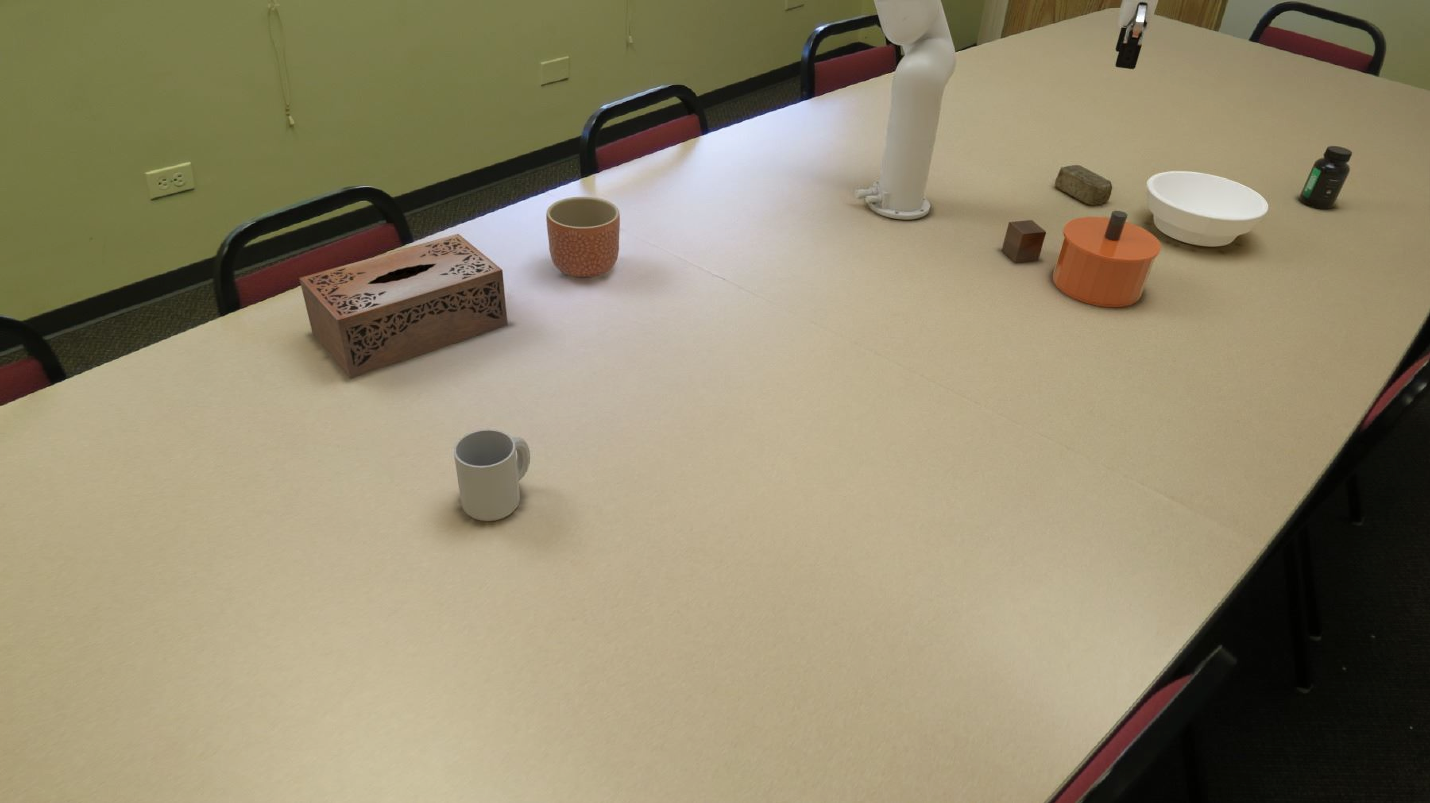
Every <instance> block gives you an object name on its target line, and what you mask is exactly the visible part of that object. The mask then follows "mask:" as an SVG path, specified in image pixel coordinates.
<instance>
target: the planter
mask: <svg viewBox="0 0 1430 803" xmlns="http://www.w3.org/2000/svg"><path fill="white" fill-rule="evenodd" d="M545 214H546V216H545V218H546V229H547V230H546V231H547V238H548V239H547V240H548V249H549V254H550V259H551V261H552V263H553V265H554V266H555V268H557V269H558V270H559V271H560V272H562V273H563V274H565V275H567V276H569V277H572V278H577V279H593V278H594V279H595V278H597V277H600V276H602V275H605V274H606V273H607V272H609V271H610V270H611V269H612V268H613V267H615V264H616V263H617V260H618V256H619V250H620V233H621V232H620V230H621V229H620V228H621V215H620V214H621V213H620V210H619V208H618V207H617V205H616V204H614V203H613V202H611V201H609V200H607V199H603V198H599V197H594V196H572V197H567V198H563V199H559V200H556V201H555V202H553V203H552V204H550V205H549V206H548V207H547V209H546V213H545Z"/></svg>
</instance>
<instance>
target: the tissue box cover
mask: <svg viewBox="0 0 1430 803" xmlns="http://www.w3.org/2000/svg"><path fill="white" fill-rule="evenodd" d="M503 272H504V271H503V269H502V268H501V267H500V266H499V265H497V264H496V263H495V262H493V260H491V258H489V257H487V256H486V255H485V254H484V253H483V252H481V251H480V250H479V249H478V248H476V247H475V246H474V245H473V244H472V243H471V242H470V241H468V240H467V239H465V237H463V236H462V235H461V234H460V233H455V234H452V235H448V236H444V237H442V238H438V239H434V240H430V241H426V242H424V243H423V242H422V243H419V244H416V245H412V246H408V247H405V248H401V249H398V250H394V251H391V252H387V253H384V254H380V255H376V256H372V257H369V258H365V259H362V260H358V261H355V262H351V263H347V264H344V265H340V266H337V267H333V268H329V269H326V270H325V269H324V270H321V271H319V272H315V273H312V274H307V275H304V276H300V277H299V283H300V287H301V288H300V289H301V291H302V294H303V301H304V304H305V309H306V312H307V317H308V321H309V325H310V329H311V334H312V336H314V339H316V340H317V341H318V343H319V344H320V345H321V346H322V348H323V349H324V350H325V351H326V352H327V353H328V355H329V356H330V357H331V358H332V359H333V361H334V362H335V363H336V364H337V365H338V366H339V368H340V369H341V370H342V371H343V372H344V374H345V375H346V376H347V377H348V378H349V379H354V378H357V377H360V376H363V375H366V374H368V373H372V372H374V371H378V370H381V369H383V368H386V367H389V366H392V365H395V364H398V363H401V362H403V361H406V360H410V359H413V358H415V357H418V356H422V355H425V354H427V353H430V352H433V351H437V350H438V349H442V348H444V347H447V346H451V345H454V344H456V343H459V342H463V341H465V340H468V339H471V338H473V337H477V336H479V335H483V334H485V333H489V332H491V331H494V330H497V329H500V328H503V327H506V326H508V315H507V314H508V313H507V304H506V295H505V294H506V293H505V283H504V273H503Z"/></svg>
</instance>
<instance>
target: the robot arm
mask: <svg viewBox="0 0 1430 803" xmlns="http://www.w3.org/2000/svg"><path fill="white" fill-rule="evenodd" d="M1158 3H1159V0H1121V4H1120V7H1119V10H1118V14H1117V26H1118V27H1119V28H1120V32H1119V35H1118V38H1117V42H1116V46H1115V51H1116V52H1118V54H1117V57H1116V60H1115V67H1116V68H1119V69H1120V68H1121V69H1128V70H1134V69H1136V67H1137V64H1138V60H1139V57H1140V54H1141V53H1140V52H1141V49H1142V46H1143V44H1142V42H1143V38H1144V35H1145V31H1147V30H1148V29H1150V27H1151V24H1152V21H1153V17H1154V16H1155V12H1156V9H1157V6H1158ZM873 4H874V6H875V10H876V12H877V16H878V20H879V24H880V27H881V30H882V32H883V35H884V36H885V38H886V39H887V40H888V41H889V42H891V43H892V44H894V45H896V46H901V47H902V51H903V53H904V56H903V57H902V58H901V59H900V61H899V62H898V64H897V66H896V68H895V71H894V72H893V73H894V74H893V77H892V82H891V91H890V92H891V94H890V106H889V114H888V119H887V120H888V121H887V127H886V135H885V141H884V146H883V152H882V158H881V164H880V171H879V177H878V181H874V182H873V185H872V186H870V187H868V188H861V189H860V188H859V189H855V190H854V194H853V195H854V199H855V200H865V203H866V204H867V206H868V207H869V209H871V211H873V212H875V213H876V214H878V215H880V216H883V217H885V218H889V219H895V220H903V221H904V220H908V221H909V220H916V219H920V218H923V217H925V216H928V214H929V213H930V210H931V204H930V202H929V200H928V199H927V198H926V197H925V194H926V190H927V185H928V184H927V183H928V179H929V175H930V174H929V173H930V168H931V165H932V164H931V163H932V160H933V159H932V158H933V153H934V147H935V142H936V137H937V132H938V127H939V123H940V122H939V121H940V117H941V109H942V101H943V95H944V91H945V88H946V86H947V84H948V83H949V81H950V79H951V78H952V76H953V74H954V72H955V69H956V67H957V66H956V65H957V53H956V49H955V48H956V47H955V45H954V41H953V38H952V35H951V31H950V28H949V24H948V21H947V17H946V13H945V10H944V6H943V3H942V1H941V0H873Z"/></svg>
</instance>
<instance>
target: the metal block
mask: <svg viewBox="0 0 1430 803" xmlns="http://www.w3.org/2000/svg"><path fill="white" fill-rule="evenodd" d="M1046 236H1047V231H1046V230H1045V229H1044V228H1042V227H1041V226H1040V225H1039V224H1037V223H1036V222H1035V221H1034V220H1033V219H1027V220H1017V221H1009V222H1008V224H1007V228H1006V231H1005V235H1004V240H1003V244H1002V247H1001V252H1002V253H1004V254H1005V255H1006V256H1007V257H1008V258H1009V259H1010V260H1011V261H1012V262H1013V263H1015V264H1017V263H1018V264H1019V263H1027V262H1037V261H1039V259H1040V256H1041V253H1042V249H1043V245H1044V242H1045V238H1046Z"/></svg>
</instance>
